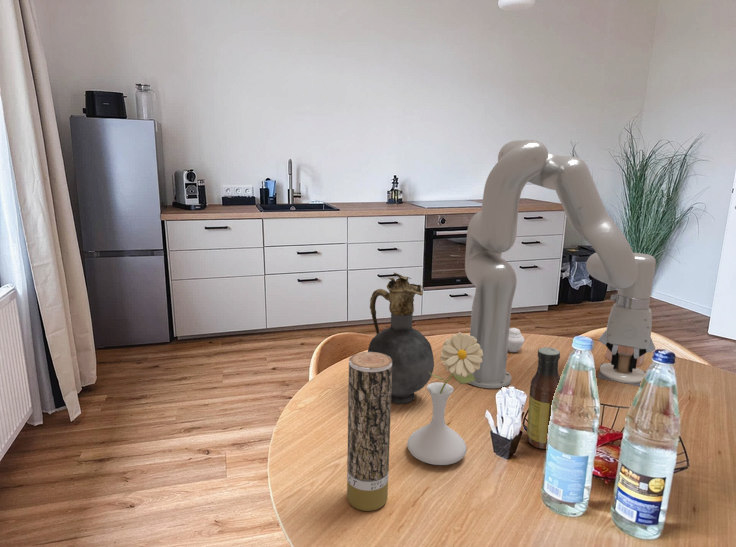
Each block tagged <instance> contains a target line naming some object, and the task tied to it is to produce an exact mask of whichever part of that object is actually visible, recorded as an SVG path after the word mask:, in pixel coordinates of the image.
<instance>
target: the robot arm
mask: <svg viewBox="0 0 736 547" xmlns="http://www.w3.org/2000/svg"><path fill="white" fill-rule="evenodd" d="M527 183H530V184H532V185H536V186H539V187H542V188H545V189H548V190H553V191H555V192H556V195H557V198H558V200H559V203H560V205H561V206H562V208H563V211H564V213H565V216H566V218H567V220H568V223H569V225H570V226H571V228H572V229H573V230H574V231H575V232H576V233H577V234H578V235H579V236H580V237H581V238H583V239H584V240H585V241H586V242H587V243H588V244H589V245H590V247H592V249H593V250H594V251H595V252H594V253H593V254H591V255H590V256H588V259H587V260H586V264H585V268H586V271H587V273H588V274H589V275H590V276H591V277H592V278H594V279H595V280H597V281H599V282H601V283H604V284H606V285H608V286H610V287H612V288H615V289H617V293H616V294H611V295H610V298H609V299H610V300H611V301H615V302H614V303H613V305H612V306H611V309H610V312H609V314H608V320H607V326H606V329H605V331H603V333H602V334H601V336H600V337H599V338H598V341H599V342H600V343H601V344H603V345H604V346H606V349H607V348H608V349H609V350H610V351H611V353H612V360H611V361H610V363H611V365H614V367H613V369H616V367H617V361H618V350H617V349H618V346H619V345H620V346H626V347H632V348H634V353H633V354H632V355H631V356H632V357H631V363H630V369H629V372H630V373H632V370H633V369H636V368H637V366H636V364H637V359H638V358H639V357H640V356H642V355H644V354H645V355H646V354H647V353H651V352H654V350H655V351H656V346H655V343H654V341H653V339H652V336H651V335H652V327H653V326H652V324H653V311H652V309H651V308H650V302H651V297H652V289H653V283H654V277H655V270H656V263H657V262H656V258H655V256H653V255H650V254H647V253H642V252H641V253H640V252H633V249H632V247H631V245H630V243H629V241H628V239H627V238H626V236H625V235H624V233H623V232H622V231H621V229H620V228H619V227H618V225H617V223H616V222H615V221H614V220H613V218H612V217H611V216H610V215H609V213H608V211H607V210H606V208H605V206H604V204H603V201H602V199H601V196H600V194H599V192H598V189H597V187H596V184H595V181H594V180H593V176H592V174H591V171H590V170H589V167H588V165H587V164H586V162H585V161H584V160H583V159H582V158H579V157H576V156H569V155H559V154H558V155H557V154H554V153H550V152H549V150H548V148H547V147H546V145H545V144H543V143H542V142H540V141H538V140H534V139H522V140H518V139H517V140H511V141H509V142H507V143H505V144H504V145H503V146H502V147H501V148H500V150H499V152H498V154H497V163H495V165H494V166H493V167H492V168H491V170H490V172H489V173H488V175H487V178H486V180H485V184H484V187H483V194H482V202H481V210H480V211H477V212H476V213H475V214H474V215H473V216H472V217H471V218H470V220H469V223H468V225H467V231H466V242H465V243H466V244H465V256H464V257H465V259H464V261H465V262H464V269H465V275H466V277H467V279H468V280H469V282H470V283H471V284H472V285H473V286H474V287H475V293H474V296H473V302H472V306H471V313H470V314H471V315H470V328H469V329H470V331H469V336H470V337H471V336H473V337H474V338H475V339H477V343H478V344H479V345H480V349H482V350H483V352H482V353H483V356H482V357H481V358H482V363H480V369H479V370H476V371H475V372H474V373H473V374H472V373H471V374H472V375H473V376H474V378H475V379H476V380H474V381H472V382H469V383H468V384H470V385H472V386H474V387H478V388H483V389H500V388H501V387H502V386H504V387H502V388H505V387H507V386H509V385H510V384H511V383H512V375H511V373H510V372H508V371H507V362H508V361H507V360H508V352H509V351H508V340H509V329H510V328H511V327H510V325H511V314H512V306H513V301H514V298H515V293H516V290H517V281H518V280H517V274H516V272H515V269H514V268H513V266H512V265H511V264H510V263H509V262H508V261H507V260H505V259H504V258H502V253H505V252H508V251H509V250H510V249H511V248H513V246H514V245H515V242H516V239H517V232H518V218H519V207H520V205H519V204H520V199H521V195H522V191H523V190H524V187H525V186H526V184H527ZM645 355H644V356H645Z"/></svg>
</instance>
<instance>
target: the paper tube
mask: <svg viewBox="0 0 736 547" xmlns="http://www.w3.org/2000/svg"><path fill="white" fill-rule="evenodd" d="M391 388H392V359H391V358H390V357H389V356H387V355H385V354H382V353H377V352H368V351H365V352H364V351H362V352H357V353H355V354H353V355H351V356H350V357H349V359H348V389H347V390H348V391H347V392H348V396H347V398H348V399H347V400H348V402H347V403H348V404H347V460H346V461H347V464H346V465H347V466H346V468H347V469H346V473H347V474H346V475H347V476H346V480H347V481H346V482H347V484H346V485H347V486H346V496H347V497H346V498H347V501H348V503H349V504H350V505H351V506H352V507H353V508H355V510H359V511H363V512H365V511H366V512H373V511H376V510H379V509H381V508H382V507H383V506H384V505H385V504H386V503H387V500H388V495H389V494H388V493H389V473H390V472H389V471H390V470H389V469H390V468H389V466H390V444H391V443H390V440H391V439H390V438H391V416H392V414H391V412H392V411H391V410H392V408H391V407H392V402H391Z"/></svg>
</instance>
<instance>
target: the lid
mask: <svg viewBox="0 0 736 547" xmlns="http://www.w3.org/2000/svg"><path fill="white" fill-rule="evenodd" d="M631 357H632V356H631V355H630V354H628V353H618V361H617V367H616V369H613V367H614V365H611V362H607V363H606V362H604V363H603V364H602V365H601V364H600V368H599V371H600V373H601V374H602V375H603V376H605V377H607V378H609V379H611V380H614V381H613V382H615V381H618V382H617V383H620V382H622V383H621V384H625V383H631V384H635V383H641V381H642V379H643V377H644V375H645V373H644V372H643V371H644V370H642V369H640V368H639V367H636V369H633V370H632V373H630V372H629V369H630V363H631Z"/></svg>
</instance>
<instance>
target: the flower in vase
mask: <svg viewBox="0 0 736 547" xmlns="http://www.w3.org/2000/svg"><path fill="white" fill-rule="evenodd" d="M442 346H443V347H442V348H441V351H440V357H439V359H440V361H441V362H442V365H443V366H444V367H445V371H446V372H447V373H450V374H449V377H448V378H447V379H444V378H443V377H441V376H438V375H435V374H433V373H432V374H431V373H430V372H429V371H428V372H429V374H430V375H432V376H431V377H435V378H437V379H440V380H442V381H444V382H439V381H438V382H437V381H436V382H431V383H428V384H426V390H427V391H428V392H429V395H430V397H431V401H432V418H431V420H430V422H429V423H428V424H425V425H424V426H421V427H420V428H418V429H416V430H415V431H414V432H413V433H411V434H410V435H409V437H408V439H407V442H406V446H407V449H408V451H409V453H410V454H411V455H412V456H413V457H414V458H416V459H417V460H419V461H420V462H423V463H426V464H430V465H434V466H448V465H452V464H455V463H458V462H459V461H461V460H462V459H463V458H464V457H465V455H466V454H467V451H468V450H467V449H468V448H467V445H466V442H465V440H464V439H463V437H462V436H460V434H459V433H458V432H456V431H455V430H454V429H452V428H451V427H450V426H448V425H447V423H446V420H445V415H446V414H445V413H446V412H445V411H446V407H447V406H446V405H447V401H448V399H449V397H450V395H451V394H452V393H453V392H454V387H453V386H452V385H450V384H448V383H449V381H450V380H451V378H452V377H454V378H455V380H456V381H457V382H458V383H459V384H463V385H464V384H469V382H472V381H474V380H476V379H475V378H474V376H473V375H472V374H473V373H474V372H475V371H476V370H479V369H480V363H482V358H481V357H482V356H483V353H482V352H483V350H482V349H480V345H479V344H478V343H477V339H475V338H474V337H473V336H471V337H470V334H468V333H465V334H464V333H462V332H457V334H456V333H454V334H453V335H452V336H451V337H448V338H446V339H445V340H444V341H443V343H442ZM471 373H472V374H471Z"/></svg>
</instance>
